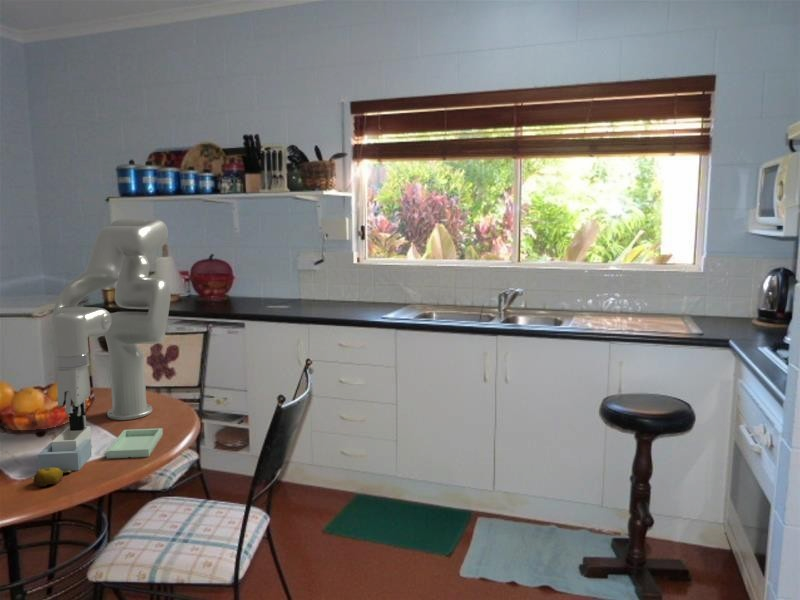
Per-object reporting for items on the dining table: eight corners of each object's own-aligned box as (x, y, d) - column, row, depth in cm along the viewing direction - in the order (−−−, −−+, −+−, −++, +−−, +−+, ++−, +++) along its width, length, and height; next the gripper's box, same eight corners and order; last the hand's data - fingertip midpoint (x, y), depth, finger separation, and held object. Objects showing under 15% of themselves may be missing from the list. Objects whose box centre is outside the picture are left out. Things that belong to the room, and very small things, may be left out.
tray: (124, 436, 168) (124, 429, 168) (162, 435, 170) (162, 428, 169) (106, 458, 154) (106, 451, 154) (148, 456, 155) (148, 449, 155)
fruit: (71, 471, 147) (70, 457, 147) (67, 486, 140) (65, 471, 139) (32, 476, 144) (31, 462, 144) (25, 492, 137) (24, 476, 136)
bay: (54, 457, 154) (52, 440, 154) (91, 455, 156) (90, 439, 155) (39, 472, 146) (37, 454, 145) (79, 470, 147) (77, 452, 146)
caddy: (69, 448, 160) (66, 416, 158) (92, 447, 161) (89, 415, 159) (53, 464, 150) (50, 430, 149) (77, 463, 151) (74, 429, 149)
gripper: (69, 353, 163) (74, 419, 166) (44, 369, 148) (50, 441, 151) (98, 352, 164) (103, 418, 167) (77, 368, 149) (82, 439, 152)
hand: (78, 428), depth 159 cm, fingers closed on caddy, 1 cm apart
